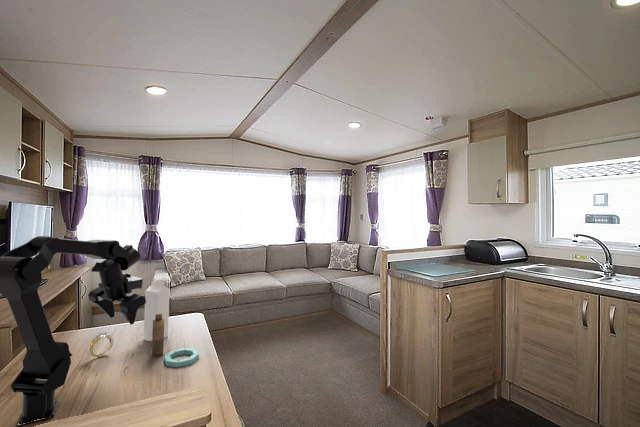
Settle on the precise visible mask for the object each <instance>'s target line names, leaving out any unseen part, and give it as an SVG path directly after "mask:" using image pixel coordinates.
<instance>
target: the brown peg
mask: <svg viewBox="0 0 640 427" xmlns="http://www.w3.org/2000/svg"><path fill="white" fill-rule="evenodd" d="M164 342H165V338H164V319H162V313H158V314H156V317H155V320H153V331H152V341H151V358H154V359H156V358H161V357H163V356H164V345H165V344H164Z"/></svg>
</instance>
